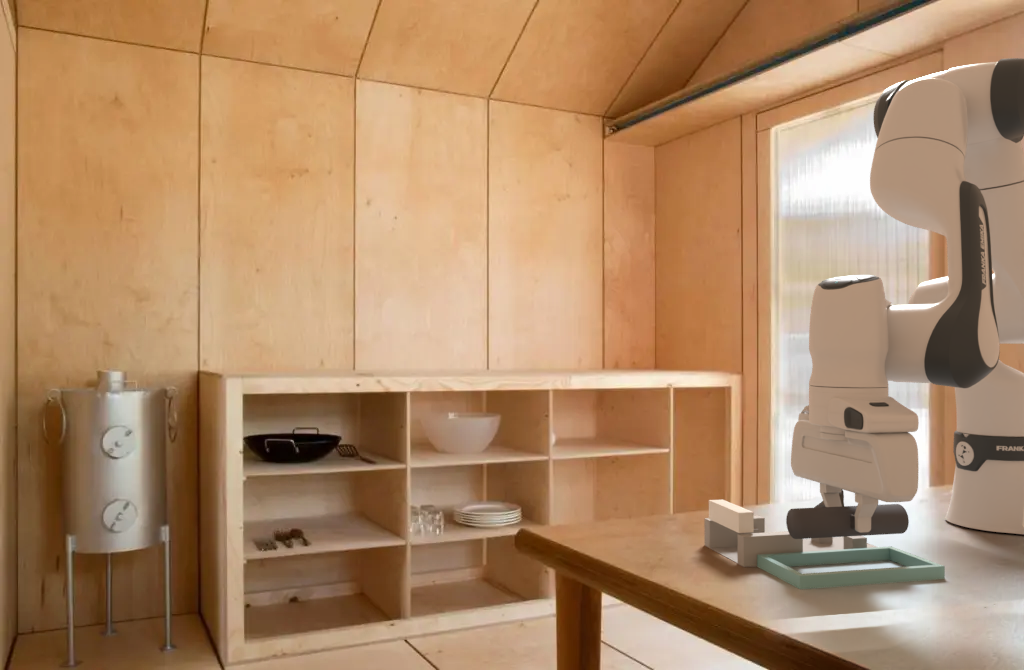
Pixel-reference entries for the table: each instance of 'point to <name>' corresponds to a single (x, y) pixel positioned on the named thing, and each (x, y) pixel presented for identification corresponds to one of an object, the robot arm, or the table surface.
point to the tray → (913, 571)
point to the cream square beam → (731, 516)
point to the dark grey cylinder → (844, 521)
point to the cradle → (768, 542)
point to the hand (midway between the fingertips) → (848, 526)
